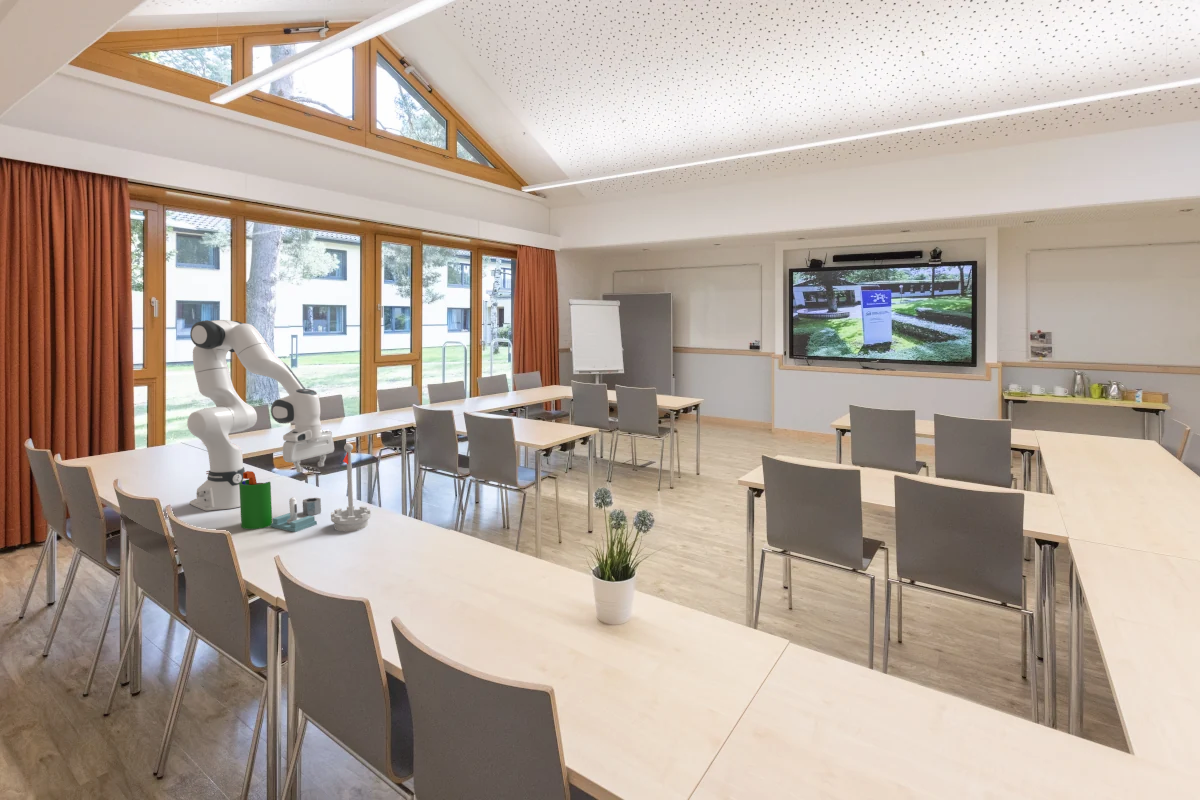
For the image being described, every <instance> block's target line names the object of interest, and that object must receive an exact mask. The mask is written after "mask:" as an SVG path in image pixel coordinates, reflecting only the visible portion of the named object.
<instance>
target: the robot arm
mask: <svg viewBox="0 0 1200 800" xmlns="http://www.w3.org/2000/svg"><path fill="white" fill-rule="evenodd" d="M190 339H191V340H190V341H192V343H193V344H194V345H195V346H194V347H193V349H192V365H193V370H194V374H195V378H196V382H197V387H198V391H199V393H200V394H201V395H202V396H203V397H205V398H209V400H211V401H212V402H213V403H214V405H215V406H212V407H205V408H202V409H199V410H195V411H193V412H191V413H190V414H189V416H188V418H187V422H186V423H187V424H186V425H187V429H188V430H189V432H190V434H192V435H193V436H194V437H196V438H197V439H199V440H201V442H202V443H203V444H204V446H205V448H206V450H207V454H208V462H209V470H207V471H205V472H206V473H205V474H206V475H207V479H206V481H205V482H203V483H202V484H201V485H199V486H198V487H197V489H196V498H195V499H192V500H190V501H189V505H191V506H194V507H196V508H198V509H201V510H203V511H216V510H217V511H218V510H229V509H235V508H239V507H240V489H239V483H240V482H241V481H244V480H247V479H243V473H244V472H246V470H245V467H244V461H243V460H244V459H243V450H242V448H241V446H240V445H238V444H237V443H234V442H232V441H231V439H230V436H229V435H230V434H234V433H238V432H244V431H246V430H249V429H250V428H253V427H254V426H255V425H256V423H257V421H258V414H257V411H256V409H255V408H254V406H252V405H250V404H248V403H246V402H245V401H244V400H243V399H242V398H241V397H240V396H239V394H238V392H237V391H236V389H235V387H234V385H233V381H232V377H231V374H230V371H229V367H228V362H227V358H226V357H227V354H228V352H230V353H235V354H236V356H237V358H238V361H240V363H241V365H242V367H244V368H245V369H246V370H247V371H248V372H250V373H251V374H254V375H259V376H262V377H263V376H264V377H267V378H270V379H273V380H275V381H277V382H278V383H279V384H280V385H281V386H282V387H283V389H284V390H285V391H286V393H287V394H288V395H287V396H284V397H282V398H278V399H276V400H274V401H273V403H272V404H271V406H270V414H271V417H272V418H273V420H274V421H275V422H276V423H279V424H283V425H284V424H285V425H286V424H290V423H294V428H293V429H292V430H290V431H289V432H287V433H285V434H283V436H282V438H283V439H282V440H283V441H284V443H283V445H282V458H283V460H284V462H285V463H286V462H287V463H293V465H294V466H295V468H296V472H297V473H303V472H304V467H303V466H301V461H303V460H307V459H312V458H315V457H319V461H318V462H317V467H318V468H319V467H320V468H322V467H324V466H325V461H326V459H327V455H328V454H333V453H334V451H335V443H334V439H333V434H332V430H329V429H323V430H322V422H321V417H320V416H321V413H322V412H321V402H320V397H319V394H318V392H317V391H315V390H314V389H309V388H307V389H306V388H305V387H304V385H303V384H302V383H301V381H300V380H299V378H298V377H297V376H296V374H295V373H294V372H293V370H292V369H291V368H290V367H289V366H288V365H287V363H285V362H284V361H283V360H281V358H280V357H278V356H277V355H276V353H275V352H273V350H272V349H271V347H270V346H269V345H268V343H267V341H266V340H265V337H263V335H261V333H260V332H259V330H258V329H257V328H256V327H255V326H254V325H252V324H251V323H243V322H242V321H237V320H227V319H226V320H225V319H219V320H216V319H215V320H214V319H213V320H201V321H197V322H195V323H194V324H193V325H192V327H191V329H190Z"/></svg>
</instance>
